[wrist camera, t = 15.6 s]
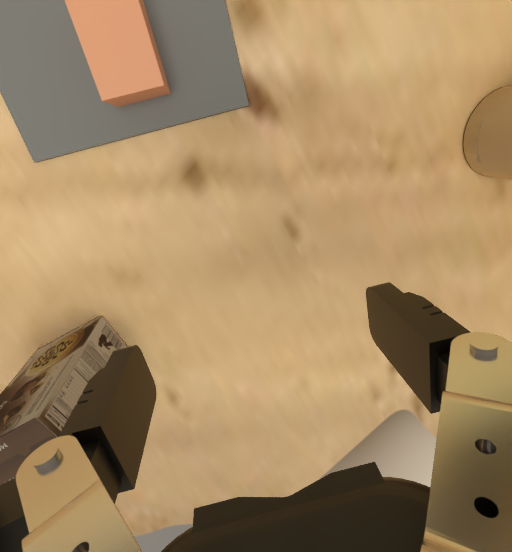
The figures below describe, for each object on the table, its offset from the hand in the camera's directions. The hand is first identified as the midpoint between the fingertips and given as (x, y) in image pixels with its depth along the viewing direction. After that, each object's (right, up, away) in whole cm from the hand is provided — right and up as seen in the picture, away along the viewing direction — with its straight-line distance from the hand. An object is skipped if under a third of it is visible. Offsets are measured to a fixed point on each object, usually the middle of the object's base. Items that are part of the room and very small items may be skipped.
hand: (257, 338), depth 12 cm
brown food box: (-20, -7, +29) cm, 36 cm away
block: (-10, +17, +17) cm, 26 cm away
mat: (-12, +21, +19) cm, 31 cm away
